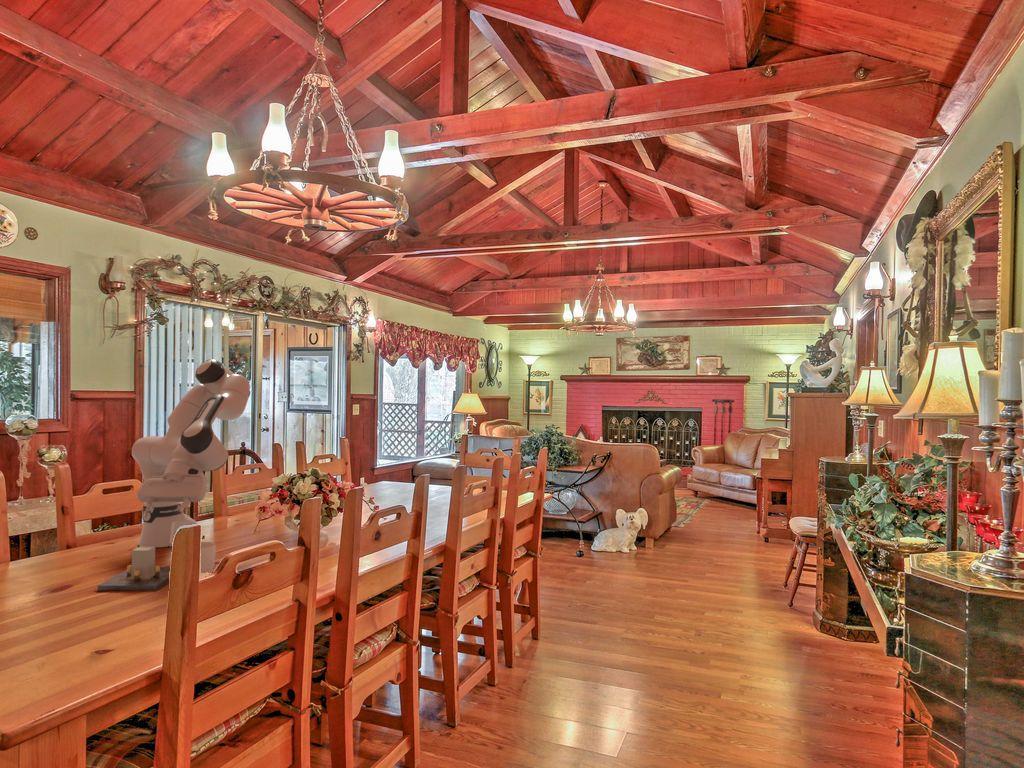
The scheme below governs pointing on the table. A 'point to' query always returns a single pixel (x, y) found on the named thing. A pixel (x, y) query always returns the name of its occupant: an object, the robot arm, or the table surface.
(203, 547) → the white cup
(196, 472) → the robot arm
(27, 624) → the table surface
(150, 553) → the block
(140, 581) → the chassis
